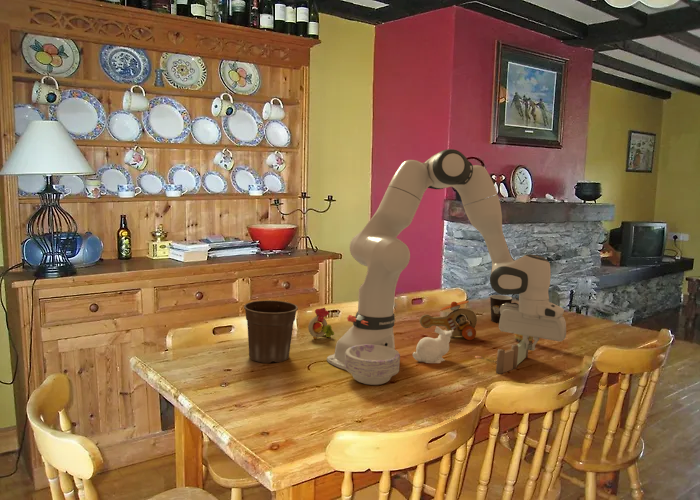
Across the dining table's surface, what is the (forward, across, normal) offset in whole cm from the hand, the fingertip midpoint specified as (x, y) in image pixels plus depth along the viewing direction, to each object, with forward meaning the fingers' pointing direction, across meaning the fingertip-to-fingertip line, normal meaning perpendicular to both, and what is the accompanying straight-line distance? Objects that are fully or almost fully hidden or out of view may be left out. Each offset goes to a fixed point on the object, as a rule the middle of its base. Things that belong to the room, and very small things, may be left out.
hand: (530, 349), depth 178 cm
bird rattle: (+4, -66, -21) cm, 69 cm away
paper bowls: (+4, -32, -45) cm, 55 cm away
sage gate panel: (+4, -2, -2) cm, 5 cm away
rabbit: (+4, -24, -18) cm, 31 cm away
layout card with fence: (+4, -6, -6) cm, 10 cm away
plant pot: (+4, -66, -48) cm, 81 cm away
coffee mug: (+4, -23, +44) cm, 50 cm away
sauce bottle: (+4, -8, +21) cm, 23 cm away
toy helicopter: (+4, -31, +10) cm, 33 cm away
